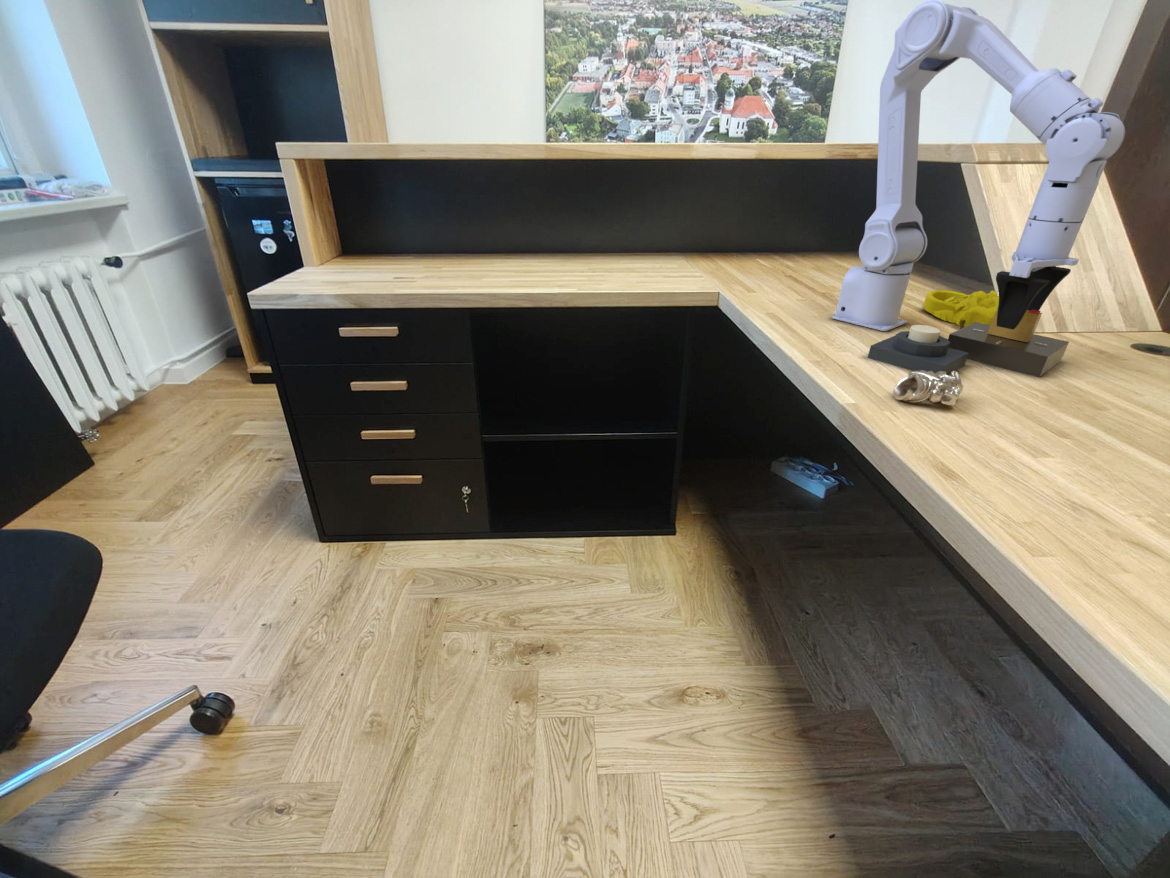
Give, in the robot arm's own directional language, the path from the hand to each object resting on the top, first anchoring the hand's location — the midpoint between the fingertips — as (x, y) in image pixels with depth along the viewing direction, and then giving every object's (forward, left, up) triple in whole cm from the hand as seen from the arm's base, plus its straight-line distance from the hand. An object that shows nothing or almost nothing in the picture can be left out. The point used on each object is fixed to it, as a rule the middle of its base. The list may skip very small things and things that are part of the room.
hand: (1014, 322), depth 78 cm
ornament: (0, -25, -5) cm, 26 cm away
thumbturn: (0, 0, -2) cm, 2 cm away
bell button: (-7, -12, -2) cm, 14 cm away
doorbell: (-7, -12, -5) cm, 15 cm away
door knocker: (-11, +21, -5) cm, 24 cm away
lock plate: (0, 0, -5) cm, 5 cm away
